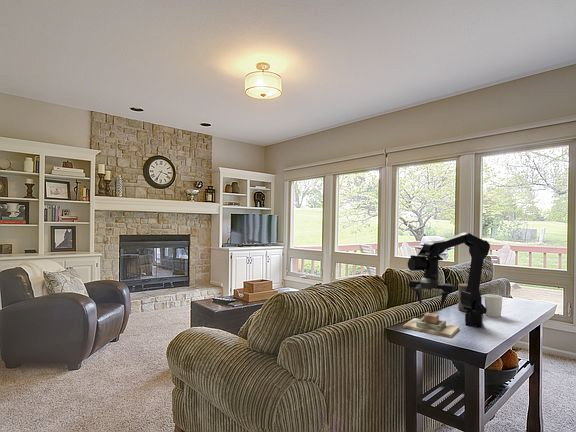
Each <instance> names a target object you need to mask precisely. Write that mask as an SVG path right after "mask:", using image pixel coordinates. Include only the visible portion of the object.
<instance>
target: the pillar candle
mask: <svg viewBox="0 0 576 432" xmlns="http://www.w3.org/2000/svg"><path fill="white" fill-rule="evenodd" d="M467 285H468V283H458V293H457V294H458V302H457V303H458V311H461V312H463V313H464V312H465V313H466V312H467V310H464V308H463V305H462V304H461V300H460V298H461V292H462V291H465V290H466V289H467Z"/></svg>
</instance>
